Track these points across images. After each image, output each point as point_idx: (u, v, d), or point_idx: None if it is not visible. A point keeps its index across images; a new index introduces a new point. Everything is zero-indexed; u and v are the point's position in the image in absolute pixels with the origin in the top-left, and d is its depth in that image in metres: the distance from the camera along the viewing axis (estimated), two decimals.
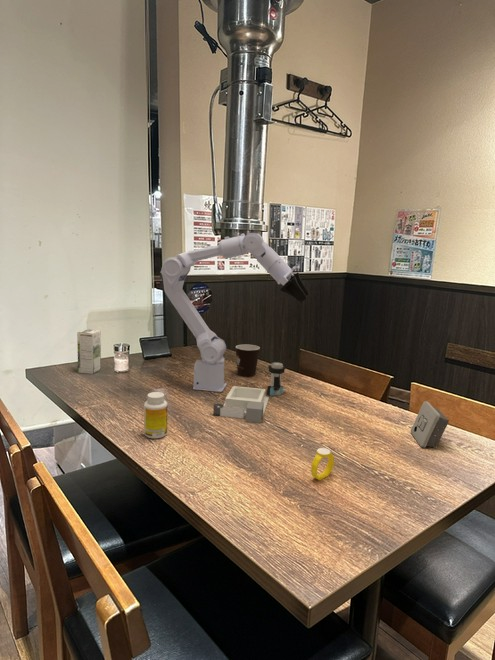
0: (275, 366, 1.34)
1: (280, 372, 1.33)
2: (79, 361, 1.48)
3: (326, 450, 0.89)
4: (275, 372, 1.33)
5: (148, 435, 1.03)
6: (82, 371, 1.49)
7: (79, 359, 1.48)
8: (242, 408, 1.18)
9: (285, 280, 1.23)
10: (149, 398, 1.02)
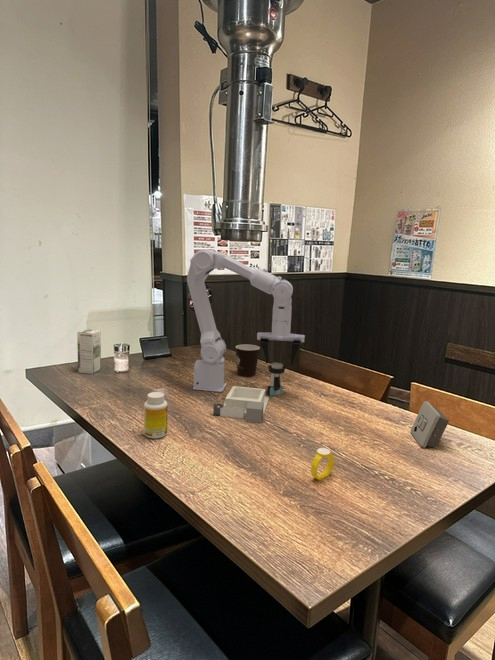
0: (275, 366, 1.34)
1: (280, 372, 1.33)
2: (79, 361, 1.48)
3: (326, 450, 0.89)
4: (275, 372, 1.33)
5: (148, 435, 1.03)
6: (82, 371, 1.49)
7: (79, 359, 1.48)
8: (242, 408, 1.18)
9: (257, 337, 1.34)
10: (149, 398, 1.02)
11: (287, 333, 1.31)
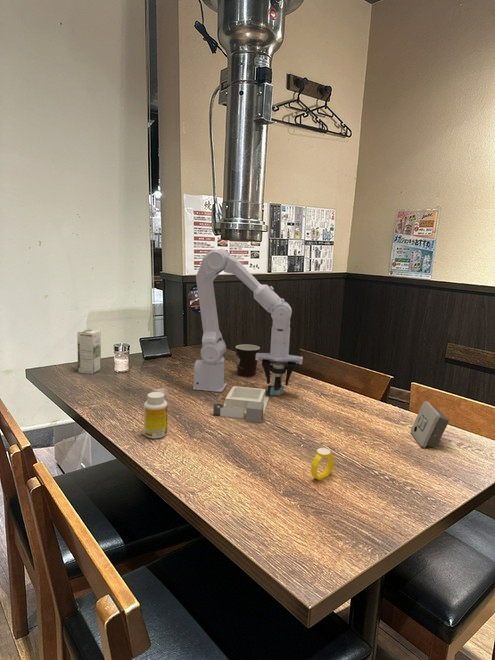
0: (277, 366, 1.33)
1: (281, 372, 1.33)
2: (79, 361, 1.48)
3: (326, 450, 0.89)
4: (276, 372, 1.33)
5: (148, 435, 1.03)
6: (82, 371, 1.49)
7: (79, 359, 1.48)
8: (242, 408, 1.18)
9: None
10: (149, 398, 1.02)
11: (285, 355, 1.33)
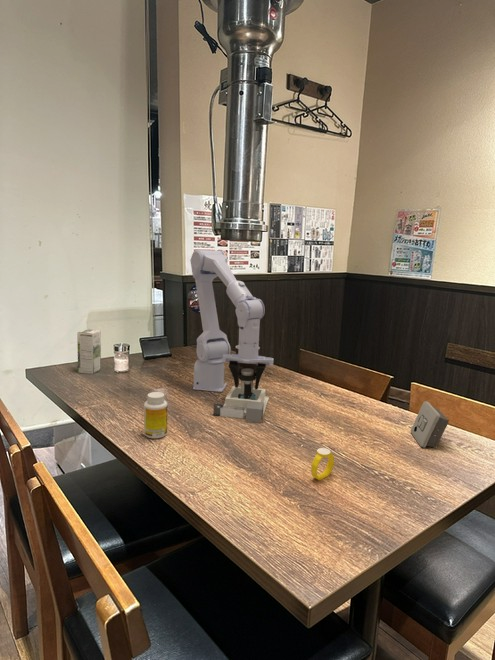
0: (244, 373, 1.24)
1: (249, 379, 1.23)
2: (79, 361, 1.48)
3: (326, 450, 0.89)
4: (244, 379, 1.23)
5: (148, 435, 1.03)
6: (82, 371, 1.49)
7: (79, 359, 1.48)
8: (242, 408, 1.18)
9: None
10: (149, 398, 1.02)
11: (254, 356, 1.22)
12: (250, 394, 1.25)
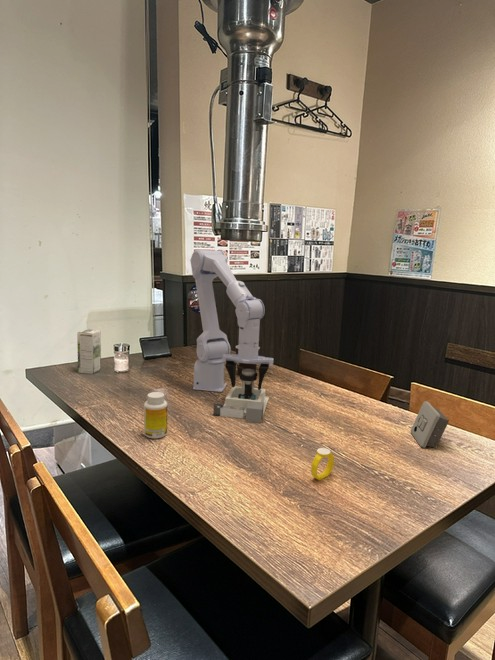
0: (245, 373, 1.24)
1: (250, 379, 1.23)
2: (79, 361, 1.48)
3: (326, 450, 0.89)
4: (245, 379, 1.23)
5: (148, 435, 1.03)
6: (82, 371, 1.49)
7: (79, 359, 1.48)
8: (242, 408, 1.18)
9: None
10: (149, 398, 1.02)
11: (254, 356, 1.22)
12: (250, 394, 1.25)
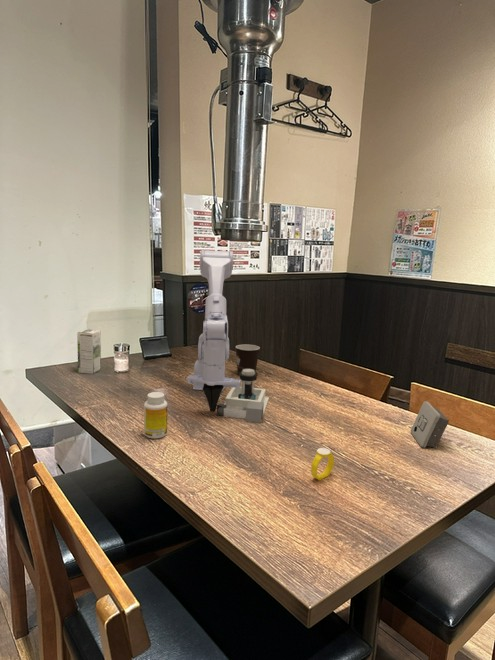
0: (245, 373, 1.24)
1: (250, 379, 1.23)
2: (79, 361, 1.48)
3: (326, 450, 0.89)
4: (245, 379, 1.23)
5: (148, 435, 1.03)
6: (82, 371, 1.49)
7: (79, 359, 1.48)
8: (245, 408, 1.18)
9: None
10: (149, 398, 1.02)
11: (220, 378, 1.15)
12: (250, 394, 1.25)
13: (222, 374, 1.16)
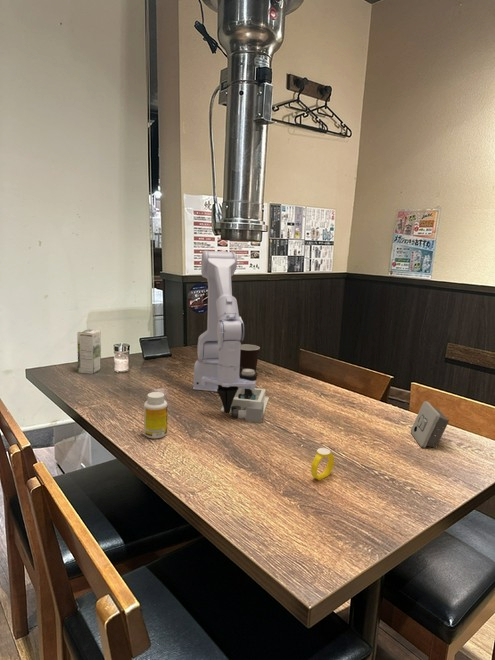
0: (245, 373, 1.24)
1: (250, 379, 1.23)
2: (79, 361, 1.48)
3: (326, 450, 0.89)
4: (245, 379, 1.23)
5: (148, 435, 1.03)
6: (82, 371, 1.49)
7: (79, 359, 1.48)
8: None
9: None
10: (149, 398, 1.02)
11: (235, 380, 1.15)
12: (250, 394, 1.25)
13: (237, 375, 1.15)
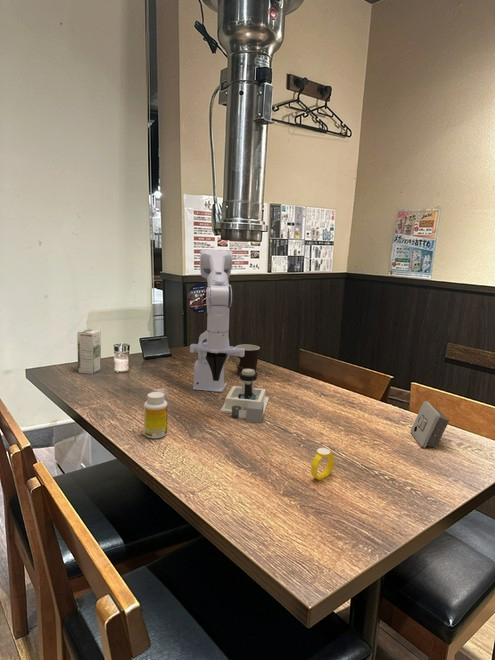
0: (245, 373, 1.24)
1: (250, 379, 1.23)
2: (79, 361, 1.48)
3: (326, 450, 0.89)
4: (245, 379, 1.23)
5: (148, 435, 1.03)
6: (82, 371, 1.49)
7: (79, 359, 1.48)
8: None
9: None
10: (149, 398, 1.02)
11: (223, 346, 1.13)
12: (250, 394, 1.25)
13: (226, 342, 1.14)
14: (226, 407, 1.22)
